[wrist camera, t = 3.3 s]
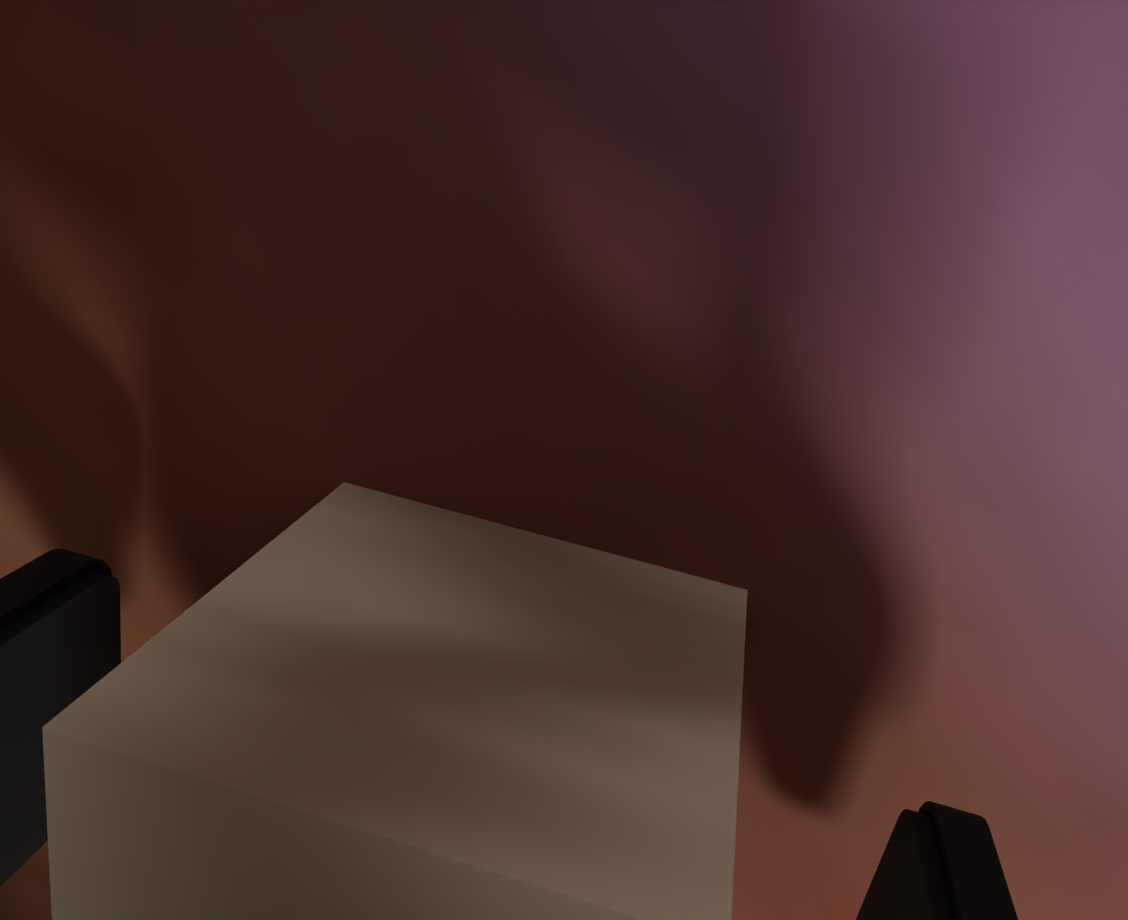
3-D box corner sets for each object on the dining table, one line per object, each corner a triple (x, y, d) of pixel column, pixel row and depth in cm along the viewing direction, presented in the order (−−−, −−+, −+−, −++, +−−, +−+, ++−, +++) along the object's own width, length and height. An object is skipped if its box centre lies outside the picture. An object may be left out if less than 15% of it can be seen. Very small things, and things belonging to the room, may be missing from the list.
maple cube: (747, 586, 10) (729, 947, 6) (654, 899, 12) (583, 1362, 8) (346, 480, 11) (42, 726, 6) (316, 793, 13) (64, 1158, 8)
